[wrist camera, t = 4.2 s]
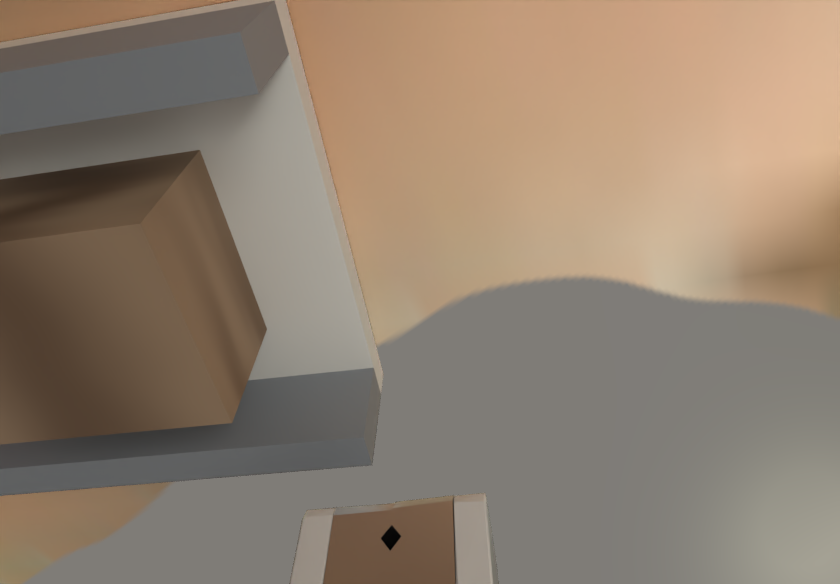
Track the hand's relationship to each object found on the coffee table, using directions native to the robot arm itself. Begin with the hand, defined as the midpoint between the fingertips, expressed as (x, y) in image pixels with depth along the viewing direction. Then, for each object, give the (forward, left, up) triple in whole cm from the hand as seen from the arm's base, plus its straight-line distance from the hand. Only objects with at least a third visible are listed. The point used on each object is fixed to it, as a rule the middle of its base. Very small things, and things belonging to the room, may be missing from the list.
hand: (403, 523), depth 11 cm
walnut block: (+9, -1, -9) cm, 13 cm away
